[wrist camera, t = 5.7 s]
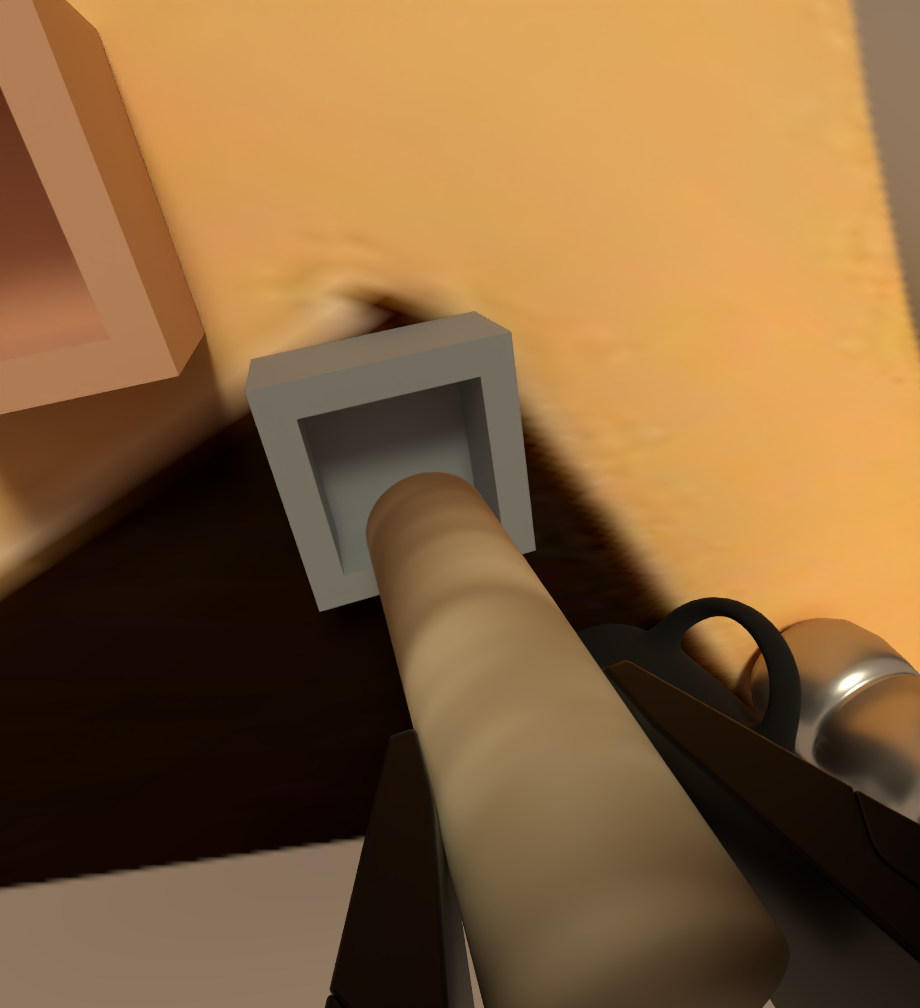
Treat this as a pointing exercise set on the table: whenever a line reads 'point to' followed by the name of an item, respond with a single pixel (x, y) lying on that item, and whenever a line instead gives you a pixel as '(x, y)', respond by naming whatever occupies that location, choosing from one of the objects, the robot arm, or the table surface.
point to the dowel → (552, 785)
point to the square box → (78, 224)
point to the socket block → (388, 435)
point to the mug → (672, 665)
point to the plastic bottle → (854, 710)
